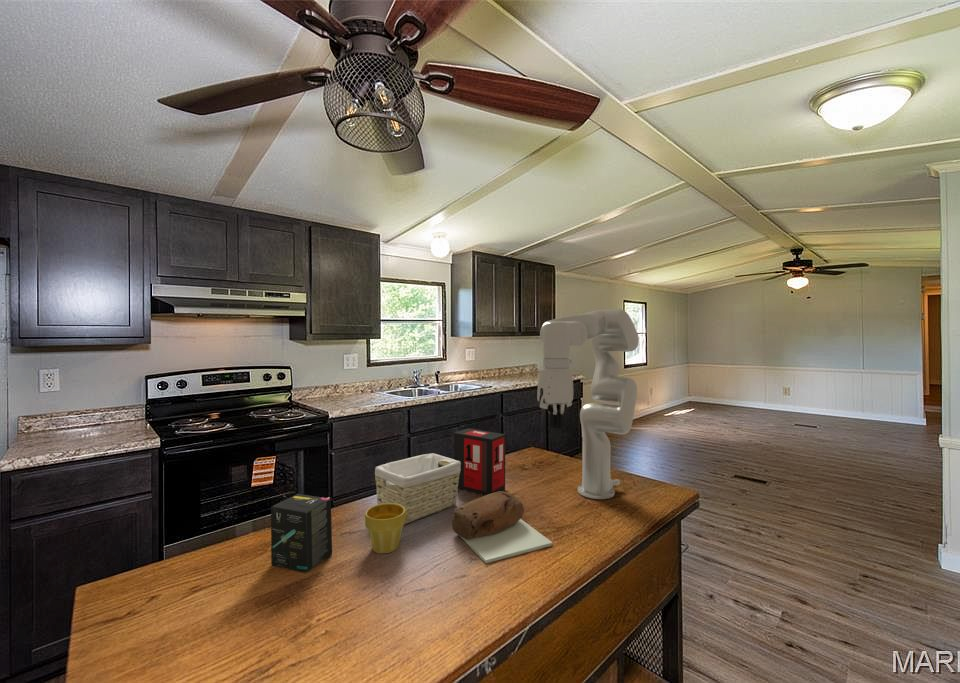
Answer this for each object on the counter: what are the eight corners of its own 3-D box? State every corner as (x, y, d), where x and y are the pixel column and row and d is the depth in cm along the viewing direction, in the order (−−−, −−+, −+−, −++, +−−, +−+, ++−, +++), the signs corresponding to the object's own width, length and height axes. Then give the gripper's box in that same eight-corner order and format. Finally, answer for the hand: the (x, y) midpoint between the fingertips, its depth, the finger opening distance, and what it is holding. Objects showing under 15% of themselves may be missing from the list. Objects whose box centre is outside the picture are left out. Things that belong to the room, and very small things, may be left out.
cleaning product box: (505, 489, 154) (505, 434, 154) (491, 497, 147) (491, 439, 146) (468, 480, 163) (468, 428, 163) (453, 487, 156) (453, 432, 156)
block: (499, 510, 134) (449, 532, 120) (499, 487, 133) (449, 506, 120) (525, 523, 126) (475, 547, 112) (526, 498, 125) (475, 519, 112)
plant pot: (380, 562, 105) (380, 523, 105) (357, 548, 112) (357, 511, 112) (413, 547, 113) (413, 510, 113) (390, 534, 120) (390, 499, 120)
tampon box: (333, 554, 109) (332, 497, 108) (307, 574, 100) (306, 512, 100) (298, 547, 112) (297, 492, 112) (270, 565, 104) (269, 505, 103)
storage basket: (431, 492, 151) (431, 450, 151) (463, 505, 140) (463, 460, 140) (372, 513, 134) (372, 466, 134) (403, 529, 123) (403, 478, 123)
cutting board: (518, 520, 129) (518, 517, 129) (552, 545, 114) (552, 542, 114) (457, 533, 120) (457, 531, 120) (485, 563, 105) (485, 560, 105)
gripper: (568, 362, 131) (568, 422, 131) (527, 364, 124) (527, 427, 125) (585, 364, 124) (584, 427, 125) (542, 366, 117) (542, 433, 118)
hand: (555, 427), depth 125 cm, fingers closed
